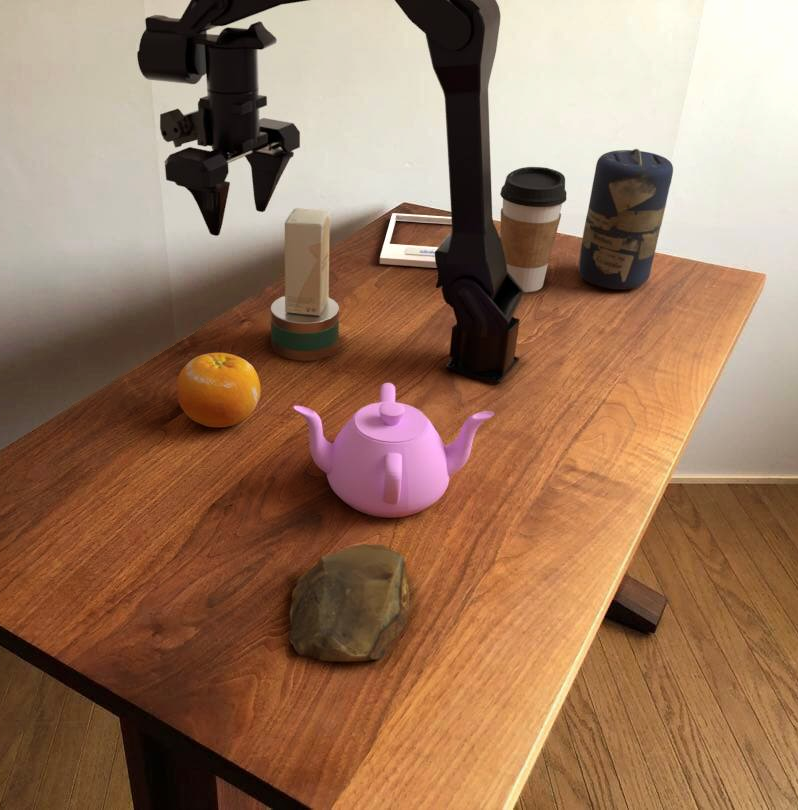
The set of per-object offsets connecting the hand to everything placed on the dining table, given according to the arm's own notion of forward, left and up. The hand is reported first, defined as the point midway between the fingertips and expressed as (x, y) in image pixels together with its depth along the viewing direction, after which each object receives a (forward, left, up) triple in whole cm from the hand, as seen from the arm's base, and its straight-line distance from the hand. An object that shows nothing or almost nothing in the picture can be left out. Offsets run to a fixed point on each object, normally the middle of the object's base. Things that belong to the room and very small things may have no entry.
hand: (238, 222), depth 109 cm
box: (-10, +1, -8) cm, 13 cm away
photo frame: (-9, -36, -13) cm, 39 cm away
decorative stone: (-38, +37, -13) cm, 54 cm away
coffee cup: (-25, -30, -13) cm, 41 cm away
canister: (-35, -38, -13) cm, 53 cm away
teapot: (-32, +20, -13) cm, 41 cm away
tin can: (-10, +1, -13) cm, 17 cm away
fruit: (-12, +20, -13) cm, 26 cm away
